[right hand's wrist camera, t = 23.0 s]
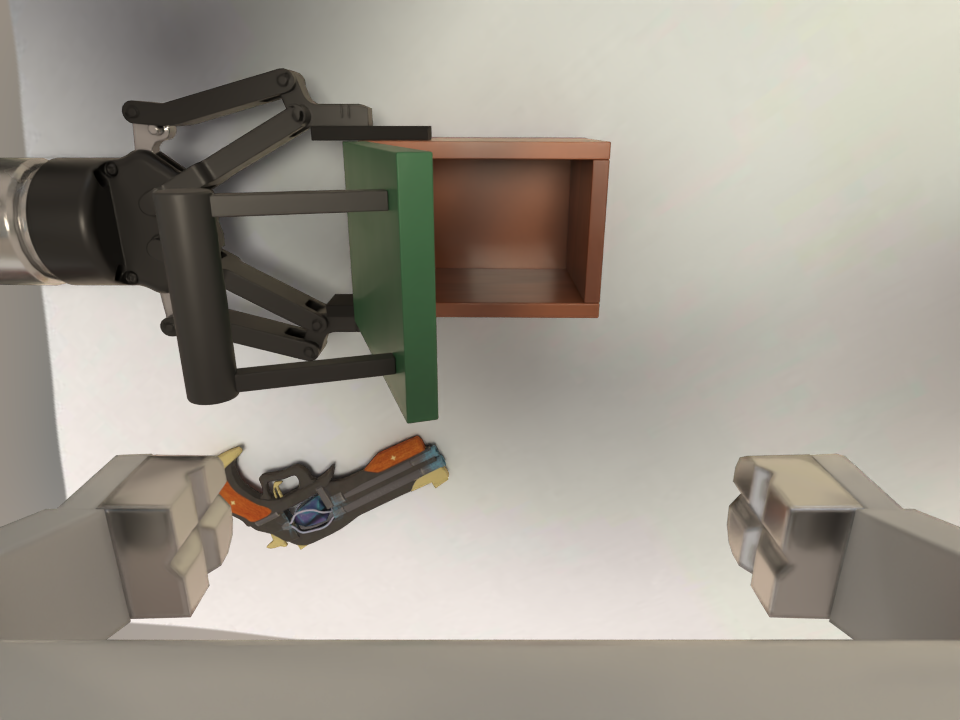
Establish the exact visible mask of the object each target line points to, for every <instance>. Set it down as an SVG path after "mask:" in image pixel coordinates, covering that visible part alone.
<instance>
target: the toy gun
mask: <svg viewBox="0 0 960 720" xmlns="http://www.w3.org/2000/svg"><path fill="white" fill-rule="evenodd" d="M242 451H243V450H242V449H241V448H240V447H236V448H233V449H231V450H229V451H226V452H225V453H223V454H221V455H219V456H218V457H219V458H220V459H221V460H222V462H223V464H224V469H225V474H226V479H227V482H226V483H225V485H224V487H223V488H222V490H221V491H220V493H219V494H220V495H221V496H222V497H223V498H224V499H225V500H226V501H227V502H228V503H229V504H230V506H231V510H232V516H234V517H236V518H238V519H240V520H242V521H243V522H244V523H245V524H246V525H247V526H251V527H252V528H254V529H255V530H258V531H261V532H266V533H270V534H271V536H272V538H273V541H272V542H271V543H270V544H268V546H267V548H276V547H279V546H283V547H286V546H287V545H288V543H287V542H291V543H293V544H296V545H298V546H299V548H300V549H303V548H304V547H305V546H307V545H309V544H311V543H314V542H316V541H318V540H320V539H322V538H324V537H326V536H328V535H331V534H333V533H334V532H336V531H338V530H340V529H341V528H343V527H344V526H346V525H347V524H349V523H350V522H351V521H353V520H354V519H355V518H356V517H358V516H359V515H361V514H363V513H365V512H367V511H370V510H372V509H374V508H376V507H378V506H380V505H382V504H384V503H386V502H388V501H390V500H393V499H395V498H397V497H399V496H401V495H403V494H405V493H408V492H410V491H414V490H416V489H418V488H420V487H423V486H425V485H427V484H429V483H431V482H432V483H433V485H434V487H435V488H437V487H438V486H440V485H441V484H442V483H444V482H445V481H447V480H448V477H449V472H448V470H447V468H446V467H445V466H446V462H445V460H444V458H443V456H442V455H439V452H438V449H437V447H436V446H435V445H433V446H431V445H428V446H425V444H424V443H423V441H422V439H421V438H420V437H419V436H415V437H413V438H411V439H408V440H406V441H403V442H401V443H399V444H397V445H394V446H392V447H390V448H388V449H386V450H383V451H381V452H379V453H378V454H377V455H376V456H375V457H374V458H373V459H372V460H371V462H370V463H369V464H368V465H367V466H366V468H364V469H362V470H360V471H358V472H356V473H354V474H352V475H350V476H347V477H344V478H341V479H334V480H331V479H332V477H333V474H334V470H335V464H333V465H332V466H331V467H330V468H329V469H328V470H327V471H326V472H325V473H324V474H322V475H321V476H319V477H318V478H315V477H313V476H312V474H311V473H310V471H309V469H308V468H306V467H305V466H303V465H301V464H295V465H293V466H291V467H289V468H287V469H284V470H281V471H276V472H269V473H264V474H262V475H261V476H260V478H259V481H260V483H261V486H262V489H263V494H261V493H259V492H258V491H256V490H254V489H253V488H251V487H250V486H249V485H247V484H246V483H245V482H244V481H243V480H242V479H241V477H240V475H239V473H238V471H237V468H236V458H237V457H238V456H239V455H240V454H241V453H242ZM293 475H295V476H297V478H298V479H299V487H298V488H296V489H294V490H292V491H290V492H288V493H286V494H284V495H283V494H282V492H281V491H280V489H279V485H280V484H281V483H282V482H283V481H276V480H281V479H285V478H288V477H290V476H293ZM271 481H275V482H274V485H273V492H274V496H273V494H272V492H271V491H270V489H269V482H271ZM275 487H276V489H277V492H278V494H279V496H277V493H276V491H275ZM316 493H318V494H319V495H318V496H313V495H314V494H316ZM308 498H311V499H310V500H309V501H307V502H306V503H305V504H304V505H303V506H302V507H301V508H300V509H299V510H298V511H297V509H298V507H299V506H300V505H301V504H302V503H303V502H304V501H305V500H306V499H308ZM297 504H299V505H298V506H297V507H296V509H295V512H294V516H293V515H292V514H291V512H290V511H289V508H291V507H293V506H295V505H297ZM330 512H333V515H334V516H333V517H332V518H331V520H329V521H328V522H326V523H324V524H321V525H319V526H317V527H314V528H311V529H305V530H304V529H301V528H300V527H299V525H302V526H305V527H307V526H313V525H316V524H318V523H321V522H324V521H326V520H327V519H328V516H329V514H330ZM286 541H287V542H286Z"/></svg>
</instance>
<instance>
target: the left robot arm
mask: <svg viewBox="0 0 960 720" xmlns="http://www.w3.org/2000/svg"><path fill="white" fill-rule="evenodd" d="M305 85H306V84H305V79H304V78H303V76H302V75H301V74H300V73H297V72H295V71H291V70H288V69H284V68H281V69H276V70H273V71H270V72H266V73H263V74H260V75H256V76H253V77H249V78H246V79H243V80H239V81H236V82H233V83H229V84H226V85H223V86H219V87H216V88H213V89H209V90H206V91H203V92H199V93H196V94H193V95H189V96H186V97H183V98H179V99H176V100H173V101H169V102H166V103H158V102H146V101H127V102H126V103H124V105H123V107H122V113H123V116H124V117H125V119H126V120H127V121H129V122H130V123H133V131H134V142H135V150H134V151H132V152H130V153H129V154H128V155H126V156H124V157H121V158H54V159H51V160H47V159H45V158H0V285H61V284H66V283H68V284H71V285H140V286H145V287H148V288H150V289H152V290H154V291H156V292H159V293H160V294H161V298H162V302H163V306H164V309H165V313H166V318H165V319H164V320H162V321H161V324H160V327H161V330H162V332H163V333H164V334H166V335H168V336H177V335H176V329H175V323H174V317H173V311H172V306H171V300H170V294H169V288H168V282H167V276H166V270H165V264H164V259H163V253H162V247H161V241H160V235H159V229H158V223H157V217H156V212H155V206H154V200H153V192H155V191H157V190H164V189H177V188H204V189H209V190H211V191H212V194H213V193H214V192H213V190H212V189H214V188H215V187H217V186H218V185H220V184H222V183H223V182H225V181H227V180H228V179H229V178H230V177H231V176H233V175H235V174H236V173H238V172H239V171H241V170H243V169H244V168H246V167H248V166H249V165H251V164H253V163H254V162H256V161H258V160H259V159H261V158H262V157H264V156H266V155H267V154H269V153H271V152H272V151H274V150H276V149H277V148H279V147H280V146H282V145H284V144H285V143H287V142H289V141H290V140H292V139H294V138H295V137H297V136H298V135H300V134H302V133H303V132H305V131H307V130H308V129H310V128H311V136H312V140H430V139H431V126H373V120H372V108H369V107H367V106H365V105H361V104H317V103H316V102H314V101H313V100H312V99H311V97H310V96H309V93H308V91H307V89H306V86H305ZM280 99H282V100H283V102H284V104H285V107H286V109H285V110H284V111H282V112H280V113H279V114H277V115H276V116H274V117H272V118H271V119H269V120H268V121H266V122H264V123H263V124H261V125H259V126H258V127H256V128H255V129H253V130H251V131H250V132H248V133H247V134H245V135H243V136H242V137H240V138H239V139H237V140H235V141H234V142H232V143H230V144H229V145H227V146H226V147H224V148H222V149H221V150H219V151H218V152H216V153H214V154H213V155H211V156H210V157H208V158H206V159H205V160H203V161H201V162H199V163H196V164H194V165H192V166H191V167H189V168H187V169H186V168H184V167H183V166H181V165H180V164H178V163H177V162H175V161H174V160H172V159H171V158H169V157H168V156H167V155H165V154H164V153H162V152H160V145H161V144H162V142H164V141H165V140H170V139H172V138H174V137H175V135H176V131H177V129H176V126H187V125H194V124H198V123H201V122H205V121H208V120H212V119H215V118H218V117H222V116H225V115H229V114H232V113H235V112H239V111H242V110H246V109H249V108H252V107H256V106H259V105H263V104H266V103H269V102H273V101H276V100H280ZM216 223H217V231H218V238H219V245H220V252H221V259H222V267H223V274H224V281H225V288H226V290H228V291H230V292H232V293H234V294H236V295H238V296H240V297H242V298H244V299H246V300H248V301H250V302H252V303H254V304H256V305H258V306H260V307H262V308H264V309H266V310H268V311H270V312H272V313H274V314H276V315H278V316H280V317H282V318H284V319H287V320H289V321H291V322H293V323H295V324H297V325H299V326H301V327H299V326H295V325H291V324H287V323H283V322H279V321H275V320H271V319H267V318H263V317H259V316H255V315H251V314H247V313H243V312H239V311H235V310H231V309H228V310H229V317H230V324H231V332H232V339H233V343H237V344H241V345H245V346H249V347H253V348H257V349H262V350H266V351H270V352H274V353H278V354H282V355H286V356H290V357H294V358H298V359H302V360H306V361H313V360H315V359H316V358H317V357H318V356H319V355H320V353H321V352H322V350H323V349H324V347H325V346H326V344H327V338H328V335H329V333H332V332H360V330H359V328H358V326H357V324H356V322H355V317H354V303H353V294H335V295H334V296H333V297H332V299H331V300H330V301H329V302H328V303H327V304H324V303H322V302H320V301H318V300H316V299H315V298H313V297H311V296H309V295H307V294H305V293H303V292H301V291H299V290H297V289H295V288H293V287H291V286H289V285H287V284H285V283H283V282H281V281H279V280H277V279H275V278H273V277H271V276H269V275H267V274H265V273H263V272H261V271H259V270H257V269H255V268H253V267H251V266H249V265H247V264H245V263H244V262H242V261H241V260H240V258H239V257H237V256H236V255H234V254H232V253H230V252H228V251H226V250H224V249H222V247H223V246H225V241H224V233H223V231H222V228H221V226H220V223H219V217H216Z"/></svg>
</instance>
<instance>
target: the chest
mask: <svg viewBox="0 0 960 720" xmlns="http://www.w3.org/2000/svg"><path fill="white" fill-rule="evenodd" d="M362 141H367V142H373V143H379V144H386V145H392V146H398V147H405V148H411V149H418V150H424V151H430V152H432V154H433V197H434V242H435V288H436V317H524V318H598V317H599V302H600V290H601V276H602V262H603V247H604V233H605V219H606V204H607V190H608V176H609V159H610V147H611V142H608V141H601V140H594V139H587V138H491V137H431V139H430V140H362Z"/></svg>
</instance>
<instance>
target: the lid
mask: <svg viewBox="0 0 960 720" xmlns="http://www.w3.org/2000/svg"><path fill="white" fill-rule="evenodd" d="M343 156H344V170H345V185H346V190H323V191H286V192H250V193H213V194H212V191H211V190H209V189H204V188H177V189H164V190H157V191H155V192H153V200H154V206H155V212H156V217H157V223H158V229H159V235H160V241H161V247H162V253H163V259H164V264H165V270H166V276H167V282H168V288H169V294H170V300H171V306H172V311H173V317H174V323H175V329H176V335H177V341H178V347H179V353H180V358H181V364H182V370H183V376H184V382H185V388H186V394H187V399H188V400H189V401H190V402H191V403H193V404H197V405H213V404H219V403H223V402H226V401H229V400H231V399H233V398H235V397H236V396H237V395H238V394H239V392H245V391H253V390H262V389H271V388H280V387H288V386H297V385H306V384H314V383H323V382H332V381H341V380H349V379H358V378H367V377H376V376H383V377H384V379H385V381H386V383H387V384H388V386H389V388H390V390H391V392H392V394H393V396H394V398H395V400H396V402H397V404H398V406H399V408H400V410H401V412H402V414H403V416H404V418H405V420H406V422H407V423H415V422H423V421H430V420H437V419H438V379H437V334H436V288H435V242H434V197H433V154H432V152H430V151H424V150H418V149H411V148H405V147H398V146H392V145H386V144H379V143H373V142H367V141H344V142H343ZM343 212H347V214H348V229H349V244H350V259H351V273H352V288H353V303H354V317H355V322H356V324H357V326H358V328H359V330H360V332H361V334H362V336H363V338H364V340H365V342H366V343H367V345H368V347H369V349H370V351H371V353H372V355H363V356H353V357H344V358H334V359H324V360H315V361H305V362H296V363H286V364H276V365H267V366H257V367H248V368H238V369H237V368H236V361H235V353H234V346H233V339H232V332H231V324H230V317H229V310H228V303H227V296H226V288H225V281H224V274H223V267H222V259H221V252H220V245H219V238H218V231H217V223H216V217H237V216H264V215H290V214H317V213H343Z"/></svg>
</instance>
